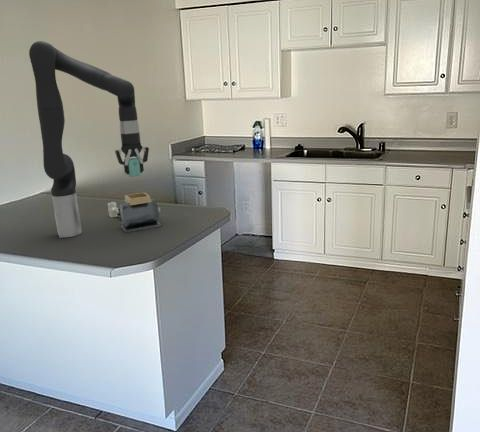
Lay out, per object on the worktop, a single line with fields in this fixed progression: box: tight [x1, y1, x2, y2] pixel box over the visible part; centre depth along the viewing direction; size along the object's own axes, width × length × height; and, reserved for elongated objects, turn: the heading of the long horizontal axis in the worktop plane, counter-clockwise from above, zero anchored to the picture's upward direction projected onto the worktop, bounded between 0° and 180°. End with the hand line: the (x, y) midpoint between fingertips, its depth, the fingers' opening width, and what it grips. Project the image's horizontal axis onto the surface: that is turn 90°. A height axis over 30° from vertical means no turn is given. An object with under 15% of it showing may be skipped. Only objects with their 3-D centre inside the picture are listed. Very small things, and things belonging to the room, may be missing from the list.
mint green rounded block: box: [127, 157, 142, 178], centre depth 194 cm, size 7×5×7 cm
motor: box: [119, 191, 162, 233], centre depth 201 cm, size 16×10×14 cm, turn 116°
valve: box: [107, 201, 121, 220], centre depth 217 cm, size 7×7×12 cm
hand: (134, 173), depth 196 cm, fingers closed on mint green rounded block, 5 cm apart
